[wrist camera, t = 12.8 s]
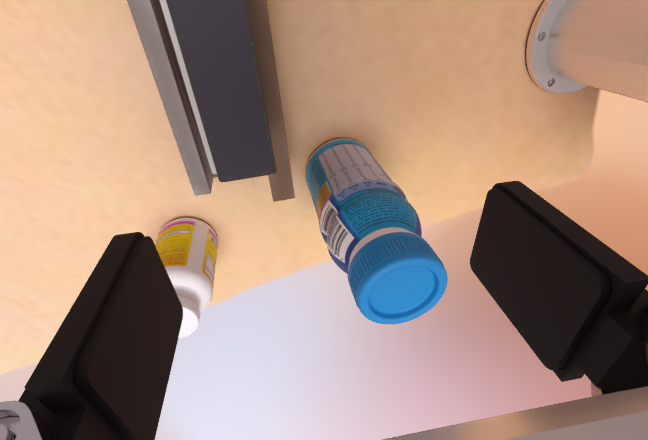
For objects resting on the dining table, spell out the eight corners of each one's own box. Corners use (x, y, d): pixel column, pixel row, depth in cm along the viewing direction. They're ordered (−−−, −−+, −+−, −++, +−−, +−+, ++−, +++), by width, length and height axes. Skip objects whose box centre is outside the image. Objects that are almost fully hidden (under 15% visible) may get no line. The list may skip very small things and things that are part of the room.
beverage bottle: (349, 119, 36) (434, 224, 20) (385, 173, 41) (477, 293, 25) (288, 166, 38) (321, 296, 22) (329, 212, 43) (381, 348, 26)
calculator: (182, -27, 26) (133, -43, 14) (238, -32, 26) (237, -51, 14) (219, 114, 32) (207, 187, 20) (263, 107, 33) (277, 176, 21)
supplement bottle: (148, 243, 40) (114, 331, 30) (179, 205, 38) (154, 286, 28) (198, 266, 43) (184, 353, 33) (229, 233, 41) (224, 314, 31)
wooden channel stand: (239, -147, 24) (236, -198, 17) (286, 162, 38) (294, 197, 31) (98, -140, 23) (39, -193, 16) (200, 175, 36) (190, 215, 30)
